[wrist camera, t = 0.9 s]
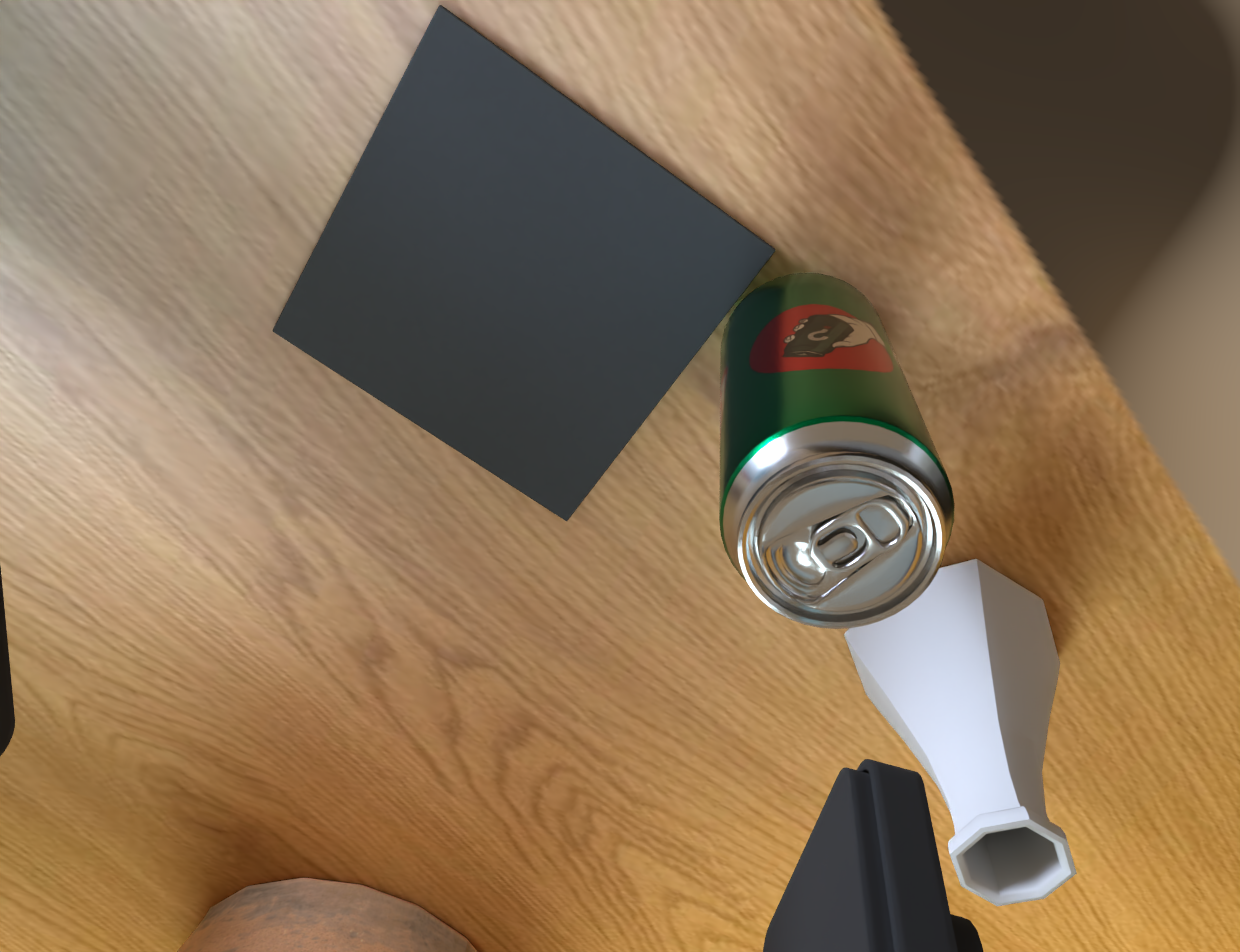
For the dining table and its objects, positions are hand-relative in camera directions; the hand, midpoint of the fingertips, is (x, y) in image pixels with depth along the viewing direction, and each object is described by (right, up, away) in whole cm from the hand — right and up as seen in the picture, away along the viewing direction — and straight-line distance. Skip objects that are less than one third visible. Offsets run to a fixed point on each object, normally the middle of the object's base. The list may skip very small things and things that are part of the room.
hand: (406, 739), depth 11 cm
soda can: (+8, +7, +20) cm, 23 cm away
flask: (+14, -3, +25) cm, 29 cm away
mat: (-1, +9, +21) cm, 23 cm away
